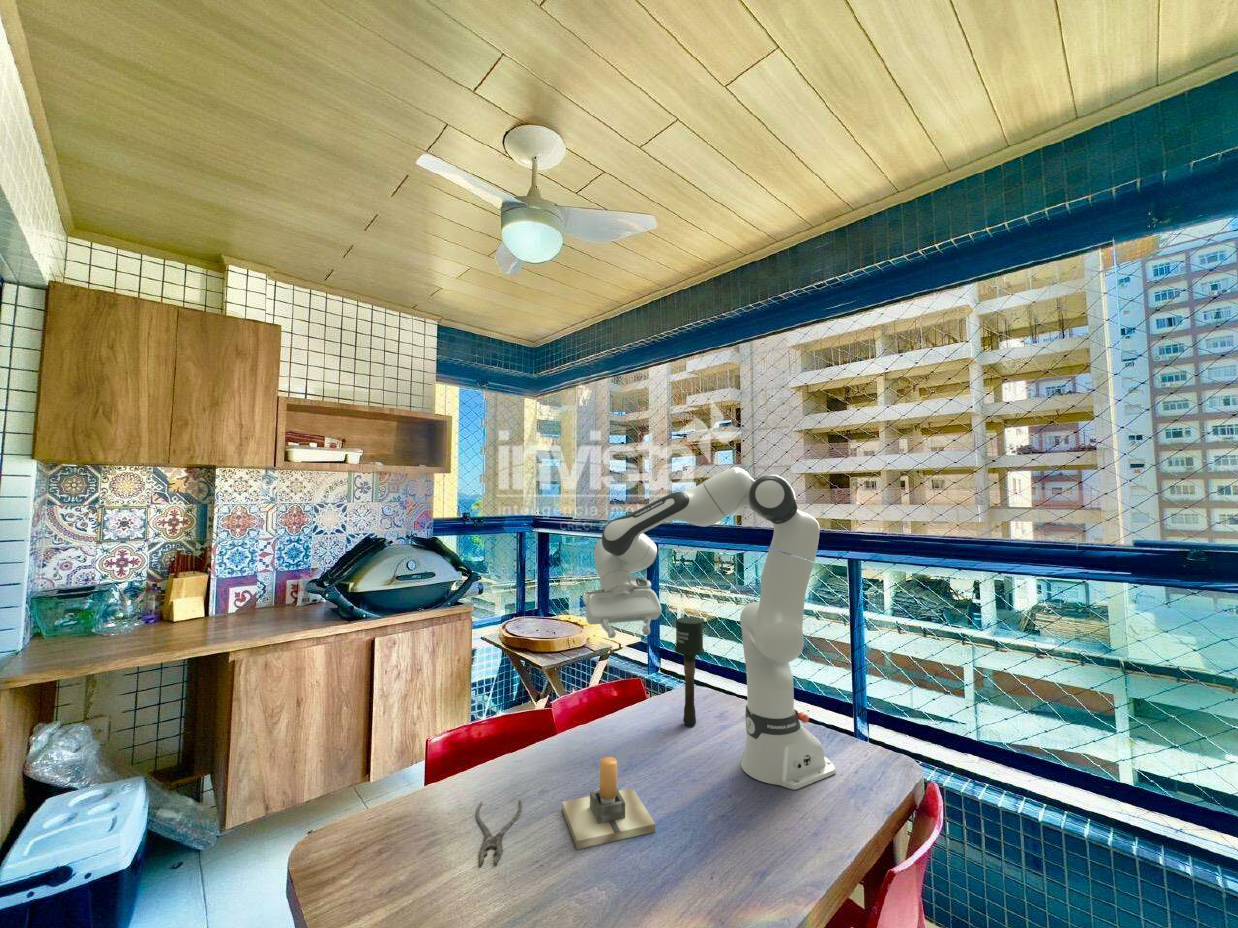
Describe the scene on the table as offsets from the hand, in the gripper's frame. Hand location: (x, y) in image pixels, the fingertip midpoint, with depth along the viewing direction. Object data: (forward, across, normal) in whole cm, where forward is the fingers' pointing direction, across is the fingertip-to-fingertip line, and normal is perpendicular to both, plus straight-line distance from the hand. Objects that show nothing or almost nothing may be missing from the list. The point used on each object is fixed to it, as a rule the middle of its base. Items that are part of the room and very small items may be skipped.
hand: (630, 635), depth 128 cm
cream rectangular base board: (+36, -12, +8) cm, 39 cm away
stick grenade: (+12, +24, +33) cm, 42 cm away
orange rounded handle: (+35, -12, +7) cm, 37 cm away
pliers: (+34, -33, +12) cm, 48 cm away
